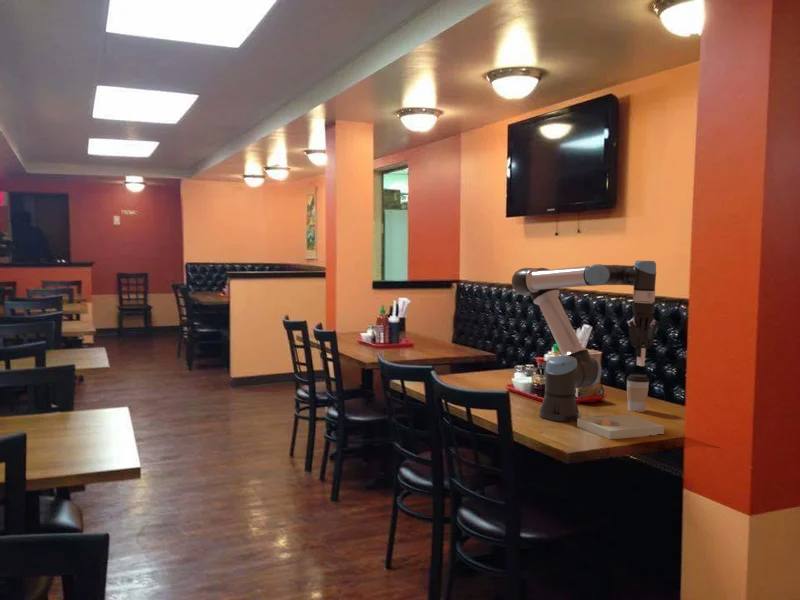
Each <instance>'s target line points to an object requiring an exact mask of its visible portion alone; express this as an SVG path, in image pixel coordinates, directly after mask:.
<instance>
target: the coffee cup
mask: <svg viewBox="0 0 800 600" xmlns="http://www.w3.org/2000/svg"><path fill="white" fill-rule="evenodd" d="M647 375H648V374H641V373H631V374H629V376H627V378H626V398H627V411H630V410H631V412H635V411H637V413H638V412H639V413H643V412H645V411H646V404H647V401H648V393H649V385H650V381H651V380H650V378H649V377H648V376H647Z"/></svg>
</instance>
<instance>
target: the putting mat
mask: <svg viewBox="0 0 800 600" xmlns="http://www.w3.org/2000/svg"><path fill="white" fill-rule="evenodd" d="M603 420H608V421H610V422H611V425H603V424H600V423H601V421H603ZM576 423H577V424H576V427H578V428H580V429H583V430H585V431H588V432H590V433H592V434H595V435H597V434H598V436H600V437H602V436H603V437H602V438H605V439H607V438H608V440H616V439H617V440H619V439H628V438H640V437H641V438H642V437H650V436H649V435H652V436H658V435H657V434H663V435H664V433H665V426H664V425H662V424H658V423H656V422H652V421H650V420H647V419H644V418H641V417H638V416H635V415H632V414H629V413H627V414H619V415H618V414H616V415H603V416H592V417H591V416H590V417H579V418H577V420H576Z"/></svg>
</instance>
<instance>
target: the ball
mask: <svg viewBox="0 0 800 600" xmlns="http://www.w3.org/2000/svg"><path fill="white" fill-rule="evenodd" d="M600 424H603V425H611V422H610V421H608V420H603V421H601V423H600Z"/></svg>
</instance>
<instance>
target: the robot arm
mask: <svg viewBox="0 0 800 600" xmlns="http://www.w3.org/2000/svg"><path fill="white" fill-rule="evenodd" d="M656 281H657V263H656V262H655V261H654V260H635V261H634V265H624V264H623V265H622V264H621V265H620V264H597V263H596V264H591V265H585V266H584V265H583V266H576V267H575V266H573V267H564V268H563V267H562V268H555V269H554V268H553V269H549V268H547V267H546V268H544V267H539V268H538V267H537V268H536V267H535V268H534V267H524V268H523V267H522V268H519V269H518V270H517V271H515V272H514V273H513V275H512V277H511V286H512V289H513V290H514V291H515V292H516V293H517V294H518V295H521V296H530V298H531V299H532V303H533V304H534V305H537V306H539V308H540V311H541V313H542V315H543V317H544V319H545V322H546V323H547V326H548V327H549V330H550V332H551V335H552V336H553V339H554V341H555V342H556V345H557V347H558V349H559V351H560V353H561V355H560V356H559V355H557V356H556V355H555V356H552V357H550V358H548V359H547V360H546V365H545V377H544V378H545V379H544V381H545V383H544V384H545V385H544V397H543V399H542V400H543V401H542V402H541V406H540V408H539V413H538V415H539V416H540V417H541V418H542V419H545V420H548V421H554V422H575V421H576V422H577V418H580V412H579V408H578V407H579V406H578V404H577V399H576V395H575V393H576V388H581V387H589V386H591V385H594V384H596V383H599V381H600V379H601V377H602V373H603V372H602V370H603V369H602V365H601V363H600V361H599V360H598V359H597V358H595V357H594V356H591V354H590V351H588V349H587V348H584V347H582V344H581V343H580V340H579V338H578V336H577V334H576V332H575V330H574V328H573V326H572V323H571V321H570V319H569V317H568V316H567V313H566V311H565V309H564V307H563V305H562V303H561V300H560V299H559V296H560V290H559V289H565V288H566V289H567V288H579V287H581V288H582V287H595V286H596V287H597V286H633V291H632V293H633V295H632V301H633V302H632V317H631V319H630V320H626V325H627V327H628V331H629V334H628V335H629V339H630V346H631V347H633V348H635V358H636V366H639V367H645V365H646V364H645V363H646V357H647V354H648V351H647V350H648V349H650V347H651V348H652V346H653V343H654V339H655V336H656V331H657V327H658V326H659V324H660V322H659V321H658V320H656V319H655V317H654V313H655V303H654V302H655V299H656Z"/></svg>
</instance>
